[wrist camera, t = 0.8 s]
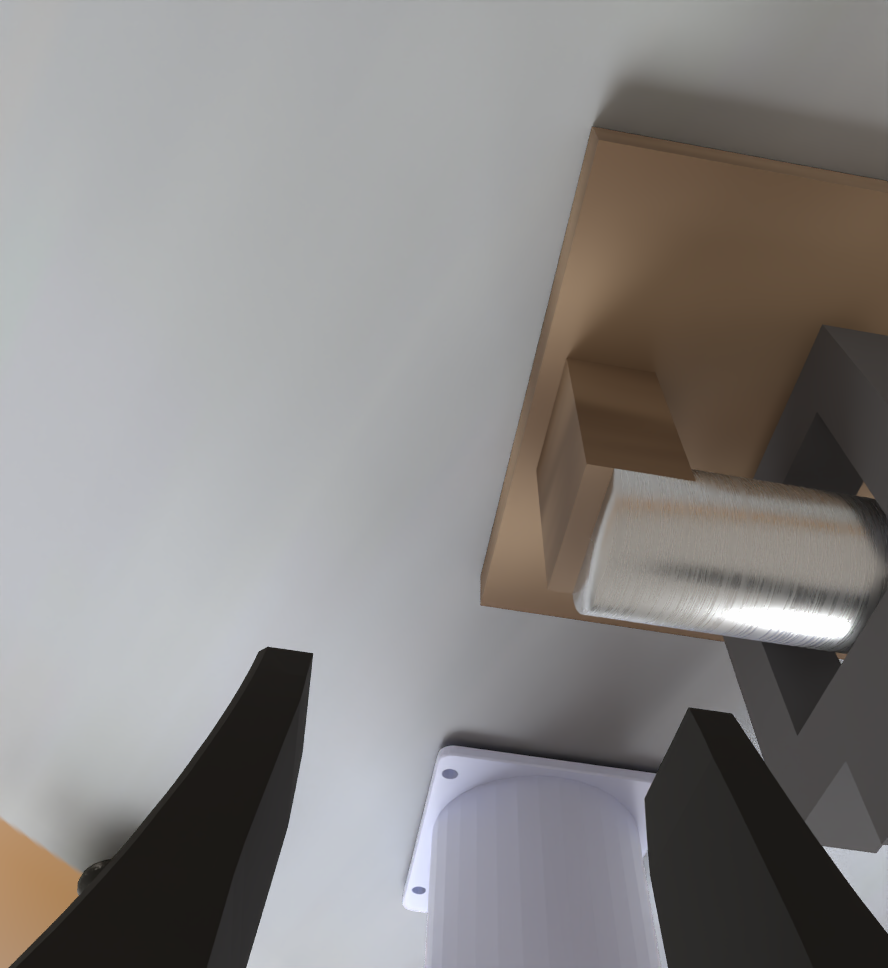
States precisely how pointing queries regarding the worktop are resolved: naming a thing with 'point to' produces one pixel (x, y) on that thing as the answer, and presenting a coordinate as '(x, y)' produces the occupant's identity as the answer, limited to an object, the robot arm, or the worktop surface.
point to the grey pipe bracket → (884, 639)
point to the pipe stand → (692, 402)
